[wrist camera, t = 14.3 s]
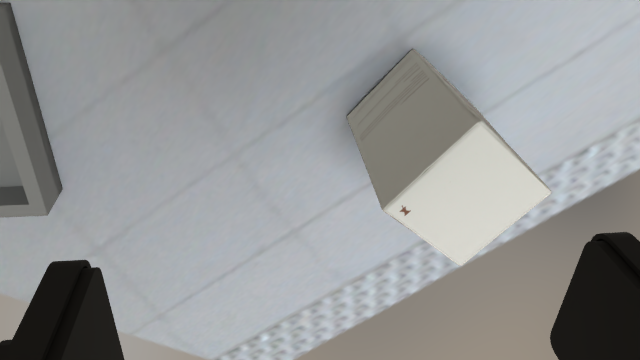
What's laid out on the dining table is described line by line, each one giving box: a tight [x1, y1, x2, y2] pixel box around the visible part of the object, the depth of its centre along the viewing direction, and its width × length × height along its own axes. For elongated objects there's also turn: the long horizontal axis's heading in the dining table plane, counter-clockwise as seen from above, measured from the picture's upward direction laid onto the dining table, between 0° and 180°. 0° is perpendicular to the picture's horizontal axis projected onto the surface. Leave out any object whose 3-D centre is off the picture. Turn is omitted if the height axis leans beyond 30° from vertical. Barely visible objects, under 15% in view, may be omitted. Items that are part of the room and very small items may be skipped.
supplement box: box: [347, 49, 551, 266], centre depth 34 cm, size 7×7×13 cm
